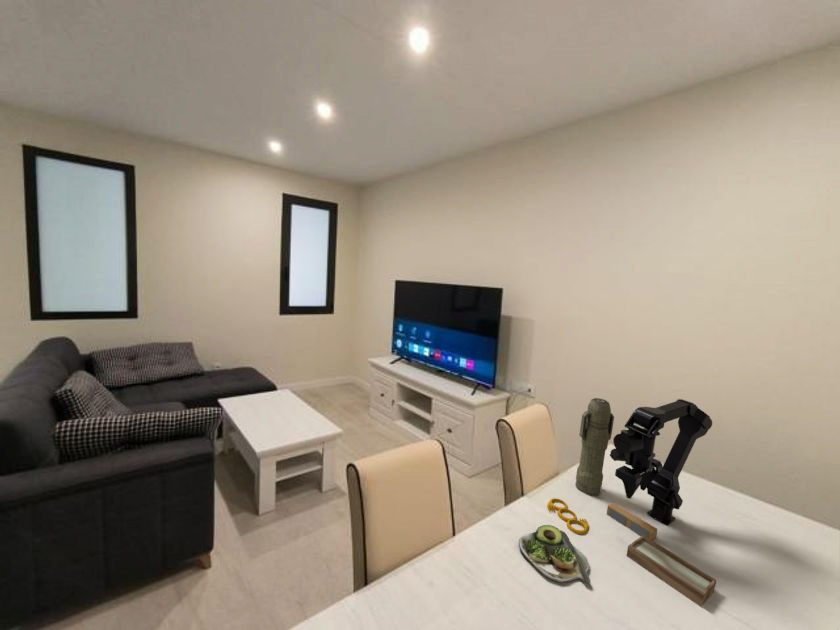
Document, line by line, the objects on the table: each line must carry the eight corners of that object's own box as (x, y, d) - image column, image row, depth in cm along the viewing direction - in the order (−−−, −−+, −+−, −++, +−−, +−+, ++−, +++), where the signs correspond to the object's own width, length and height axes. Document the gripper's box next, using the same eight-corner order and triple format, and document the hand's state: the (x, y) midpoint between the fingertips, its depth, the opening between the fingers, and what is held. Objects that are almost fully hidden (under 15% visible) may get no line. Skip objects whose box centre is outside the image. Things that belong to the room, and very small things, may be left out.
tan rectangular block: (612, 512, 123) (613, 502, 122) (656, 539, 111) (657, 529, 111) (606, 515, 121) (607, 505, 120) (650, 543, 109) (652, 532, 109)
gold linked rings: (567, 536, 109) (596, 535, 111) (567, 532, 109) (597, 530, 111) (540, 502, 125) (566, 501, 127) (541, 498, 125) (567, 497, 127)
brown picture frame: (641, 544, 108) (643, 534, 107) (714, 590, 93) (716, 580, 93) (626, 555, 103) (628, 545, 102) (701, 606, 88) (703, 595, 88)
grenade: (566, 482, 138) (578, 396, 134) (592, 480, 141) (605, 396, 137) (581, 496, 130) (595, 405, 125) (609, 494, 132) (623, 404, 128)
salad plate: (610, 579, 94) (612, 563, 94) (560, 601, 87) (563, 584, 86) (555, 529, 112) (556, 516, 111) (510, 544, 104) (511, 529, 104)
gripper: (630, 432, 124) (624, 473, 126) (602, 443, 114) (595, 488, 116) (666, 446, 115) (659, 490, 117) (638, 460, 105) (631, 508, 107)
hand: (635, 493), depth 114 cm, fingers open, 9 cm apart
